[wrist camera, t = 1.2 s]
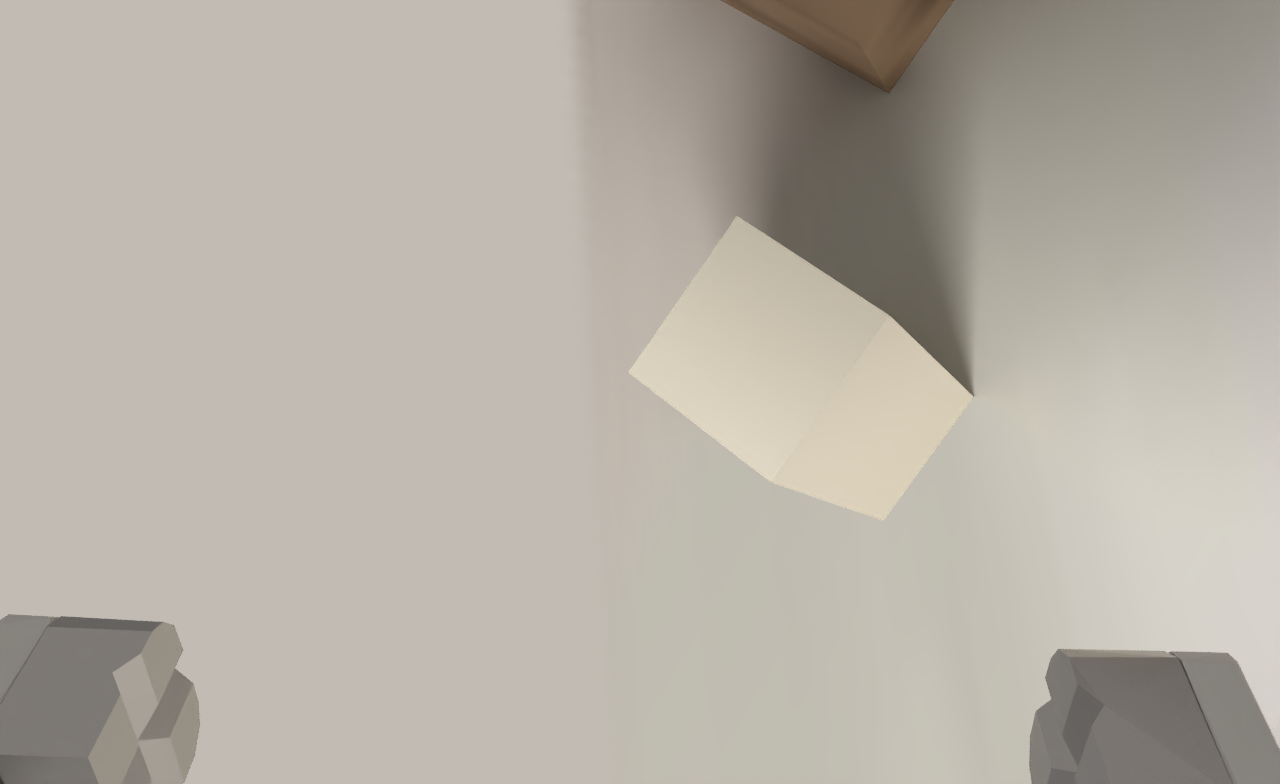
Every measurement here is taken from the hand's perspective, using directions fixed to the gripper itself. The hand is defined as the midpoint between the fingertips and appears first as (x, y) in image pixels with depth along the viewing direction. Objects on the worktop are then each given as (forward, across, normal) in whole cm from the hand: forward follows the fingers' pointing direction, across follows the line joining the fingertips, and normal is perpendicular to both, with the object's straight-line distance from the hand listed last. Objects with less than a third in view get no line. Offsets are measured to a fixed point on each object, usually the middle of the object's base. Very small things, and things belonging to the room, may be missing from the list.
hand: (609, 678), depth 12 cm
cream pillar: (+22, -6, +13) cm, 26 cm away
